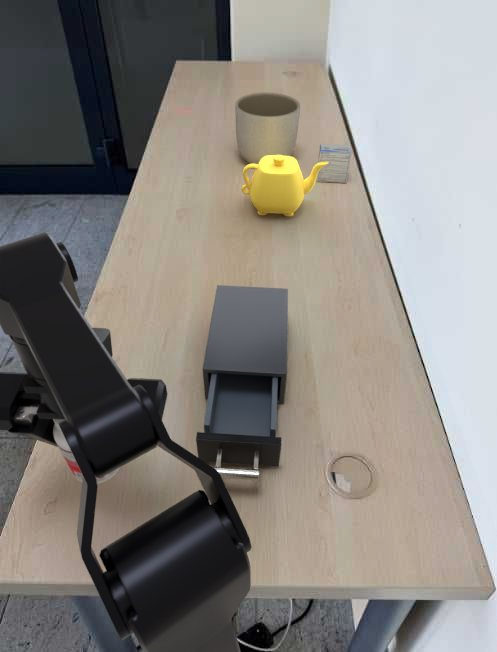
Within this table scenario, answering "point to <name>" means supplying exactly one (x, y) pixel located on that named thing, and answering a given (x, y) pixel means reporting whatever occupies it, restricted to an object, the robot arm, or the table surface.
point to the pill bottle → (69, 456)
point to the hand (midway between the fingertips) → (91, 446)
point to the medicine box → (334, 163)
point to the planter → (266, 125)
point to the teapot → (278, 184)
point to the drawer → (240, 425)
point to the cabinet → (248, 334)
